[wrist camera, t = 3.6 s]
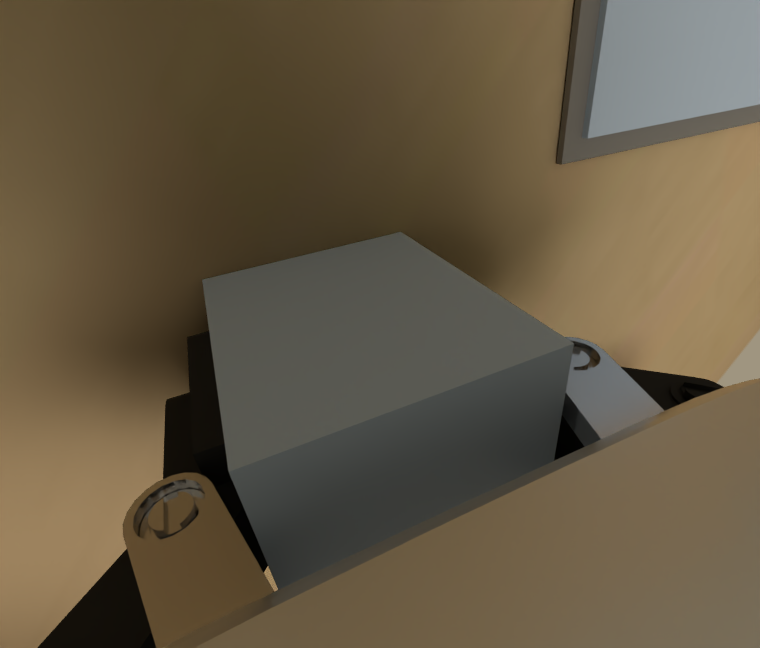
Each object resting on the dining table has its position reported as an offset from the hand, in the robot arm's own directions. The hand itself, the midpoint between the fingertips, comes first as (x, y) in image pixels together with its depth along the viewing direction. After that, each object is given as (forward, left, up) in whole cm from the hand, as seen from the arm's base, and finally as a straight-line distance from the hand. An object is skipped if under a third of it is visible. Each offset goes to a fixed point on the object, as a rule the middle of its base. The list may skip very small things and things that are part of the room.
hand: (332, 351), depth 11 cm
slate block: (0, 0, -1) cm, 1 cm away
